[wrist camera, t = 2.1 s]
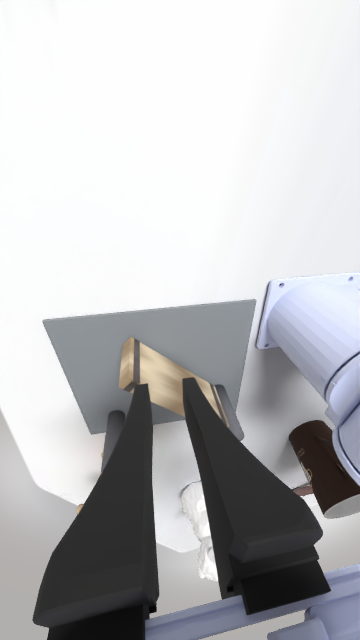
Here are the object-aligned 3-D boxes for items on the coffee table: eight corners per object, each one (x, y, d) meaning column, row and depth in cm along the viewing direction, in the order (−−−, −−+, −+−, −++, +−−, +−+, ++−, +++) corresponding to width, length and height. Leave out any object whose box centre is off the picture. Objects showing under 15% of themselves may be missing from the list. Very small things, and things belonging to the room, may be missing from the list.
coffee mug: (318, 443, 40) (365, 512, 32) (275, 448, 39) (313, 522, 30) (350, 401, 34) (418, 473, 26) (300, 406, 33) (356, 484, 24)
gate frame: (254, 299, 21) (300, 346, 15) (234, 409, 30) (258, 465, 24) (43, 319, 19) (0, 384, 13) (91, 432, 28) (78, 499, 22)
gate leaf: (215, 386, 26) (229, 426, 22) (207, 392, 26) (219, 432, 22) (130, 336, 20) (129, 377, 16) (122, 345, 21) (118, 387, 16)
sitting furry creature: (214, 495, 46) (235, 583, 36) (174, 499, 44) (184, 594, 34) (229, 472, 41) (258, 567, 31) (185, 476, 39) (201, 578, 29)
